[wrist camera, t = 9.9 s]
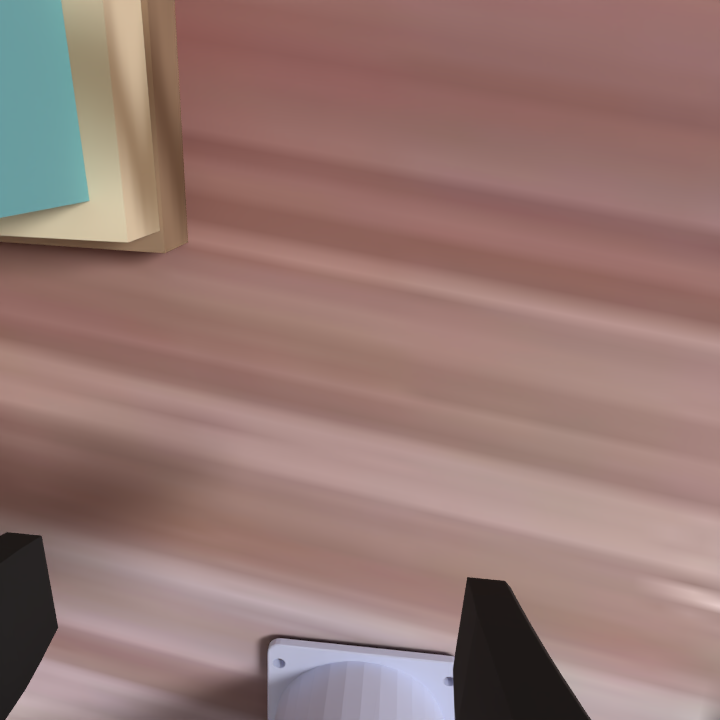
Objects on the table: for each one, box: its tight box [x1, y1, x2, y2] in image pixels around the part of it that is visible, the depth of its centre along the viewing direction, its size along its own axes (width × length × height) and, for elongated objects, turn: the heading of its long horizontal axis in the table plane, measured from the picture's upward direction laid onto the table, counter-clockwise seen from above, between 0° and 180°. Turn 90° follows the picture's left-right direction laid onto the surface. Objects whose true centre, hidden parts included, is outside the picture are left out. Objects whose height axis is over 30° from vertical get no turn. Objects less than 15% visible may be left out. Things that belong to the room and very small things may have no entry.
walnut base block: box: [0, 0, 188, 253], centre depth 16 cm, size 8×8×2 cm
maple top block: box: [0, 0, 160, 243], centre depth 14 cm, size 6×6×2 cm
